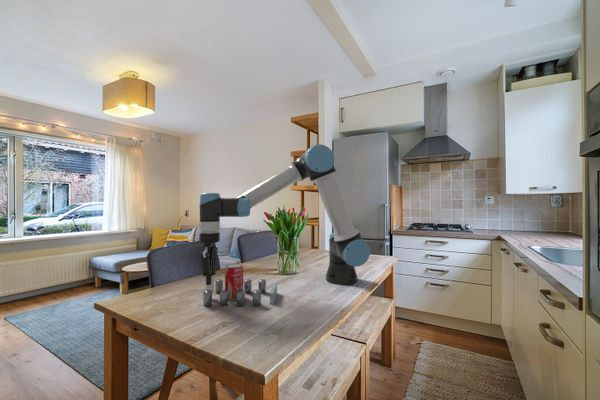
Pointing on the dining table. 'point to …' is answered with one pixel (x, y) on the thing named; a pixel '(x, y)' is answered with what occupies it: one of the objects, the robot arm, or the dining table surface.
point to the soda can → (233, 280)
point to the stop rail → (273, 293)
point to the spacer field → (239, 294)
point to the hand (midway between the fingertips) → (209, 292)
